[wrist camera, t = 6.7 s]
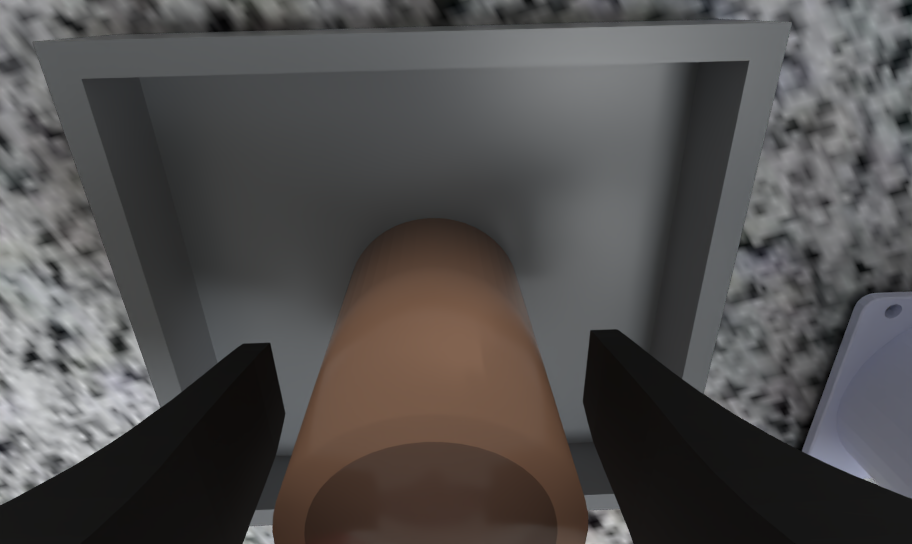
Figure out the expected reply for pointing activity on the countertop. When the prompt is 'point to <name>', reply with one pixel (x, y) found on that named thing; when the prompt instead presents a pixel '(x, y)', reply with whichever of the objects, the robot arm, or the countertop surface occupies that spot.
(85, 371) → the countertop surface
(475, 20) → the countertop surface
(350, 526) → the terracotta cup
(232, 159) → the charcoal tray
